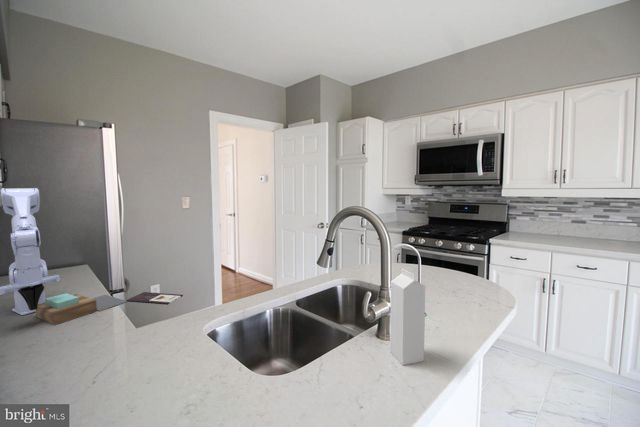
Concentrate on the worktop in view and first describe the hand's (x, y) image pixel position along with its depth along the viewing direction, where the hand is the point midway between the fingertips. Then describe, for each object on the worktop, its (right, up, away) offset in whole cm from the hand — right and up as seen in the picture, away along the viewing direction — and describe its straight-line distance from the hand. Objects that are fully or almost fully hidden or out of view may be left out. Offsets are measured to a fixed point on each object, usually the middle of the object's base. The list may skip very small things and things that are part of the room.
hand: (33, 309), depth 97 cm
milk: (+114, -5, -21) cm, 116 cm away
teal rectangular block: (+4, 0, +7) cm, 8 cm away
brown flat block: (+4, -4, +8) cm, 10 cm away
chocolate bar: (+27, -3, +21) cm, 35 cm away
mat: (+10, -3, +18) cm, 20 cm away
